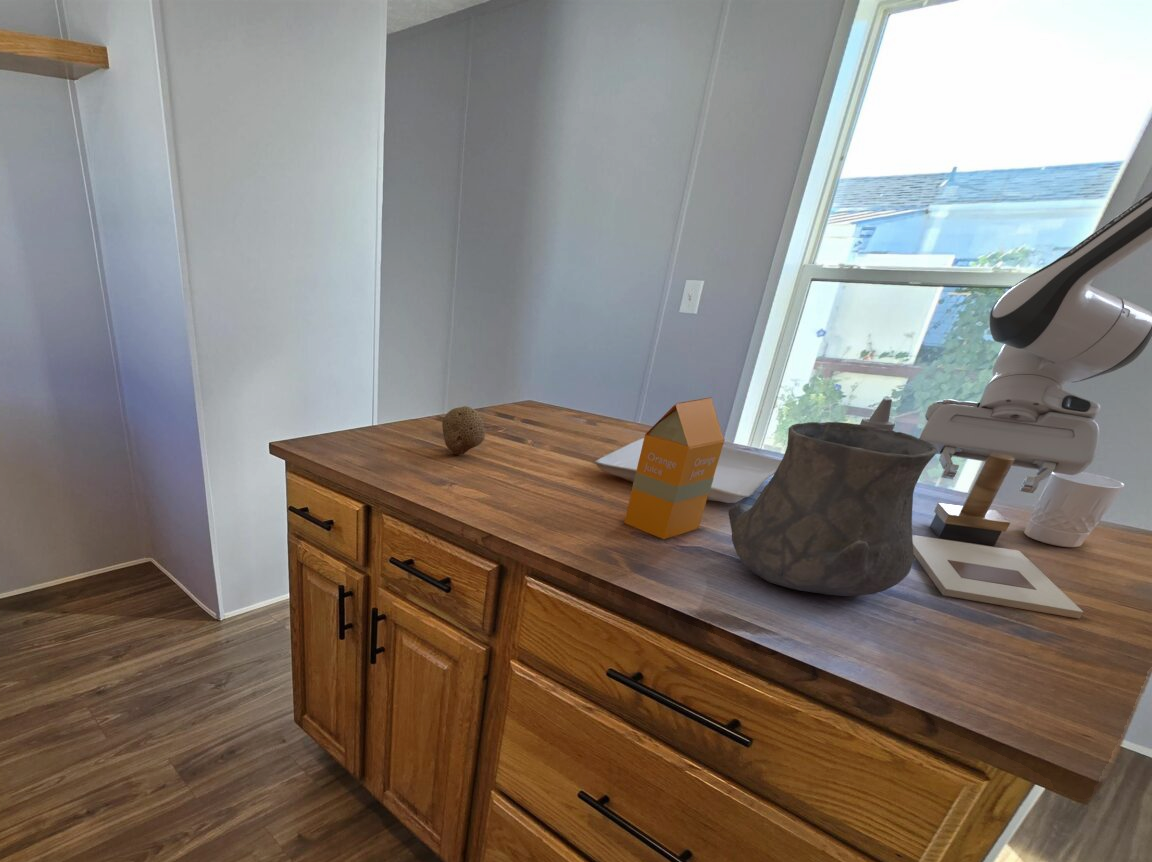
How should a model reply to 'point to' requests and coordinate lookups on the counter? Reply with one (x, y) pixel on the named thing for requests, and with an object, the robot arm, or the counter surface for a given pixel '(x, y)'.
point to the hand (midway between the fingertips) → (986, 483)
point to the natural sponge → (463, 429)
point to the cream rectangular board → (990, 576)
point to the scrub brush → (976, 507)
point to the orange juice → (676, 470)
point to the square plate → (731, 478)
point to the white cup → (1071, 508)
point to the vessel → (835, 511)
